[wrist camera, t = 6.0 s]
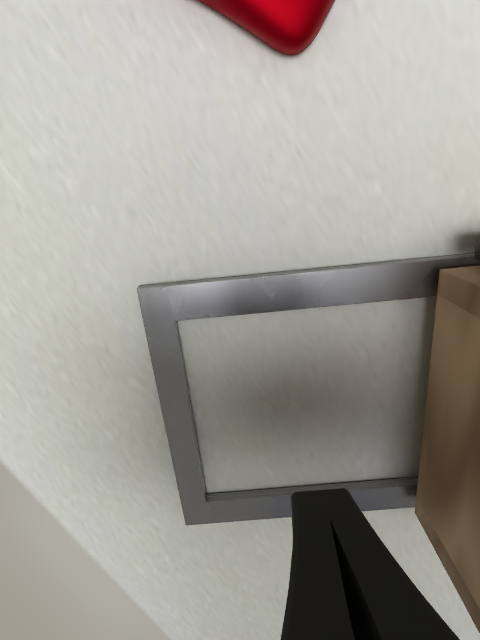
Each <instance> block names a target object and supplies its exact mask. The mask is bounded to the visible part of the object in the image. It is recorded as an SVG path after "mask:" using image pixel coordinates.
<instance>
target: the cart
mask: <svg viewBox="0 0 480 640" xmlns="http://www.w3.org/2000/svg"><path fill="white" fill-rule="evenodd" d="M474 258H475V259H476V260H479V261H480V235H479V236H477V239H476V247H475V254H474ZM415 514H416V516H417V517H418V519H419V521H420V523H421V525H422V527H423V529H424V530H425V532H426V534H427V536H428V538H429V540H430V542H431V543H432V545H433V547H434V549H435V551H436V553H437V555H438V557H439V558H440V560H441V562H442V564H443V566H444V568H445V570H446V571H447V573H448V575H449V577H450V579H451V581H452V583H453V584H454V586H455V588H456V590H457V592H458V594H459V596H460V597H461V599H462V601H463V603H464V605H465V607H466V609H467V611H468V612H469V614H470V616H471V618H472V620H473V622H474V624H475V625H476V627H477V629H478V631H479V633H480V265H479V266H469V267H458V268H448V269H440V272H439V282H438V292H437V301H436V311H435V321H434V330H433V340H432V350H431V359H430V369H429V378H428V388H427V398H426V407H425V417H424V427H423V436H422V446H421V456H420V465H419V475H418V485H417V494H416V504H415Z"/></svg>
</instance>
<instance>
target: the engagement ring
mask: <svg viewBox="0 0 480 640" xmlns="http://www.w3.org/2000/svg"><path fill="white" fill-rule="evenodd" d="M200 1H202V2H203V3H205V4H206V5H208V6H209V7H211V8H213V9H214V10H216V11H218V12H219V13H221V14H223V15H224V16H226V17H228V18H229V19H231V20H232V21H234V22H235V23H237V24H238V25H240V26H241V27H243V28H244V29H246V30H247V31H249V32H251V33H252V34H254V35H255V36H257V37H258V38H260V39H261V40H262V41H264V42H265V43H266V44H268V45H269V46H270V47H272V48H273V49H275V50H277V51H279V52H281V53H284V54H288V55H295V54H299V53H301V52H302V51H304V50H305V49H306V48H307V47H308V46H309V45H310V44H311V43H312V41H313V40H314V38H315V37H316V35H317V34H318V32H319V30H320V28H321V26H322V25H323V23H324V21H325V19H326V17H327V15H328V13H329V11H330V9H331V7H332V5H333V3H334V1H335V0H200Z"/></svg>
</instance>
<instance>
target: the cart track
mask: <svg viewBox="0 0 480 640" xmlns="http://www.w3.org/2000/svg"><path fill="white" fill-rule="evenodd" d="M474 254H475V253H468V254H458V255H448V256H438V257H428V258H417V259H407V260H397V261H387V262H377V263H366V264H356V265H346V266H336V267H325V268H315V269H305V270H295V271H285V272H274V273H264V274H254V275H244V276H234V277H223V278H213V279H203V280H193V281H182V282H172V283H162V284H152V285H142V286H139V287H138V288H137V293H138V298H139V303H140V308H141V313H142V317H143V322H144V327H145V332H146V337H147V341H148V346H149V351H150V356H151V360H152V365H153V370H154V375H155V380H156V384H157V389H158V394H159V399H160V404H161V408H162V413H163V418H164V423H165V427H166V432H167V437H168V442H169V447H170V451H171V456H172V461H173V466H174V471H175V475H176V480H177V485H178V490H179V494H180V499H181V504H182V509H183V514H184V518H185V523H186V525H195V524H208V523H220V522H233V521H245V520H258V519H271V518H283V517H292V509H291V495H292V494H293V493H295V492H300V491H313V490H326V489H339V488H345V489H347V490H348V491H349V492H350V494H351V496H352V497H353V499H354V501H355V502H356V504H357V505H358V507H359V509H360V510H361V511H371V510H384V509H396V508H409V507H415V504H416V494H417V485H418V477H410V478H398V479H386V480H374V481H362V482H349V483H337V484H325V485H313V486H300V487H288V488H276V489H264V490H252V491H239V492H227V493H215V494H206V489H205V483H204V477H203V471H202V466H201V460H200V454H199V448H198V443H197V437H196V431H195V425H194V419H193V414H192V408H191V402H190V396H189V391H188V385H187V379H186V373H185V368H184V362H183V356H182V350H181V344H180V339H179V333H178V327H177V321H179V320H190V319H201V318H211V317H222V316H232V315H243V314H253V313H264V312H274V311H285V310H295V309H306V308H316V307H327V306H337V305H348V304H358V303H369V302H379V301H390V300H401V299H411V298H422V297H432V296H437V292H438V282H439V272H440V269H448V268H458V267H469V266H479V265H480V261H479V260H476V259H475V258H474Z"/></svg>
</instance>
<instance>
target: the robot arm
mask: <svg viewBox="0 0 480 640" xmlns="http://www.w3.org/2000/svg"><path fill="white" fill-rule="evenodd" d="M291 509H292V527H293V550H292V561H291V571H290V582H289V590H288V597H287V603H286V610H285V616H284V623H283V629H282V635H281V640H460V639H459V638H458V637H457V636H456V635H455V633H454V632H453V631H452V630H451V629H450V628H449V626H448V625H447V624H446V623H445V622H444V620H443V619H442V618H441V617H440V616H439V614H438V613H437V612H436V611H435V610H434V608H433V607H432V606H431V605H430V604H429V602H428V601H427V600H426V599H425V597H424V596H423V595H422V594H421V592H420V591H419V590H418V589H417V587H416V586H415V585H414V584H413V582H412V581H411V580H410V578H409V577H408V576H407V574H406V573H405V572H404V570H403V569H402V568H401V567H400V565H399V564H398V563H397V561H396V560H395V559H394V557H393V556H392V555H391V553H390V552H389V551H388V549H387V548H386V546H385V545H384V544H383V542H382V541H381V539H380V538H379V537H378V535H377V534H376V532H375V531H374V529H373V528H372V527H371V525H370V524H369V522H368V521H367V519H366V518H365V516H364V515H363V513H362V512H361V510H360V509H359V507H358V505H357V504H356V502H355V501H354V499H353V497H352V496H351V494H350V492H349V491H348V490H347V489H345V488H339V489H326V490H313V491H300V492H295V493H293V494H292V495H291Z"/></svg>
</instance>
